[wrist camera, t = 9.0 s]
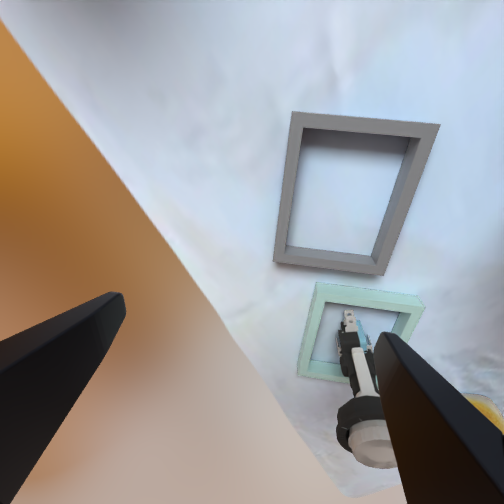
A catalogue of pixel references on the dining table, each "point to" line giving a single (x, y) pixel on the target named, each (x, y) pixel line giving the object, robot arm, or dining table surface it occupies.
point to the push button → (362, 401)
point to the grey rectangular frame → (398, 203)
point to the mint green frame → (384, 300)
